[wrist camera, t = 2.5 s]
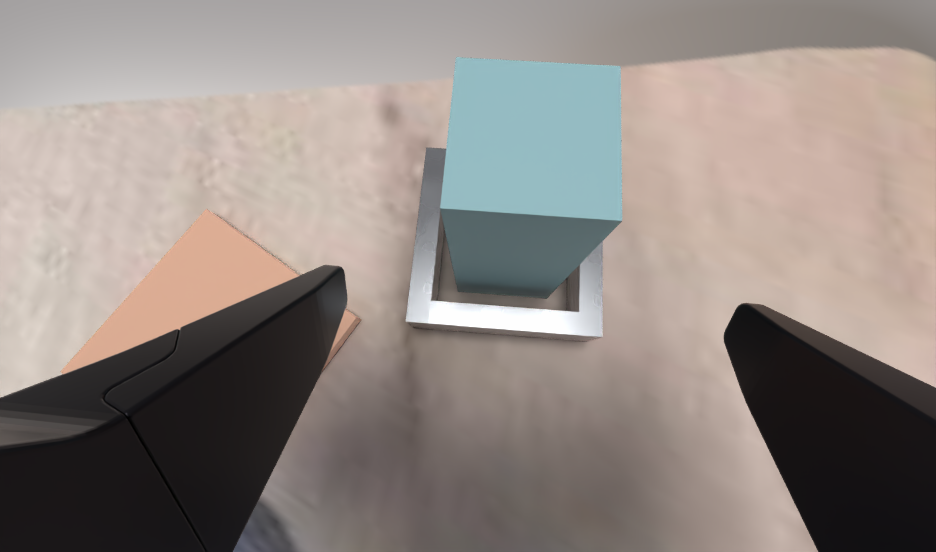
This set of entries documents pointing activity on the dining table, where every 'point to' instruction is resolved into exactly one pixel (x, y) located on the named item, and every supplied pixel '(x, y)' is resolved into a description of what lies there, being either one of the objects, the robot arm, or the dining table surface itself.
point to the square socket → (432, 314)
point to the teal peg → (530, 172)
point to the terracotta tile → (193, 289)
